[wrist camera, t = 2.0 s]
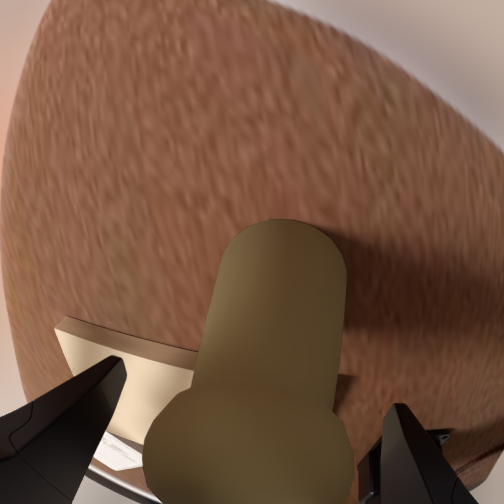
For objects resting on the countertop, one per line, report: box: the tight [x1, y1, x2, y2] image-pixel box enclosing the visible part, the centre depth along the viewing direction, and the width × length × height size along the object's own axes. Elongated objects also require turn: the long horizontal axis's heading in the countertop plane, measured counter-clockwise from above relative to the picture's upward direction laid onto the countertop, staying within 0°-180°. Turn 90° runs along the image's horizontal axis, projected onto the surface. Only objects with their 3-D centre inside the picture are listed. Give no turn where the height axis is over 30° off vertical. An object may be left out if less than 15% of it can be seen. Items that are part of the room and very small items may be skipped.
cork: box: [142, 220, 354, 504], centre depth 10 cm, size 6×6×11 cm
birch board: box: [54, 316, 199, 445], centre depth 20 cm, size 18×13×2 cm
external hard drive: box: [93, 431, 143, 471], centre depth 28 cm, size 2×8×12 cm
